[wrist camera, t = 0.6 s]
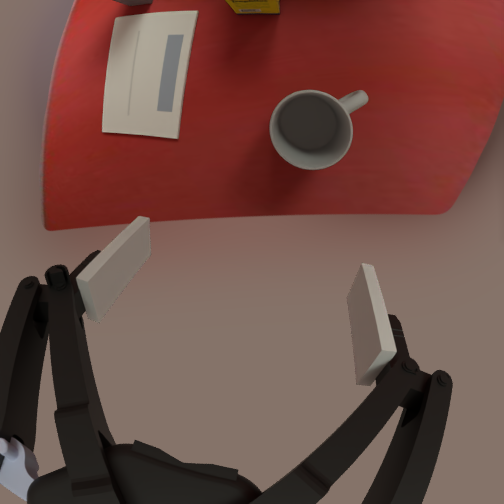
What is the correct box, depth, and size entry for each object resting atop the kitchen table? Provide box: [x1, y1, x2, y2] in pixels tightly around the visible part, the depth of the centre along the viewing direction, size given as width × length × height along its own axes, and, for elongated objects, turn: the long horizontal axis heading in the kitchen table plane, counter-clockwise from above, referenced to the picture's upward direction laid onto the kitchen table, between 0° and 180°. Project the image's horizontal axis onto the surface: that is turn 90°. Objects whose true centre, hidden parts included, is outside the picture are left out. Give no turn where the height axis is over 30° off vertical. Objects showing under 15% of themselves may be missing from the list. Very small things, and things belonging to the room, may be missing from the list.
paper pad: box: [102, 11, 199, 139], centre depth 34 cm, size 20×14×1 cm
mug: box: [269, 90, 368, 170], centre depth 30 cm, size 12×8×11 cm
